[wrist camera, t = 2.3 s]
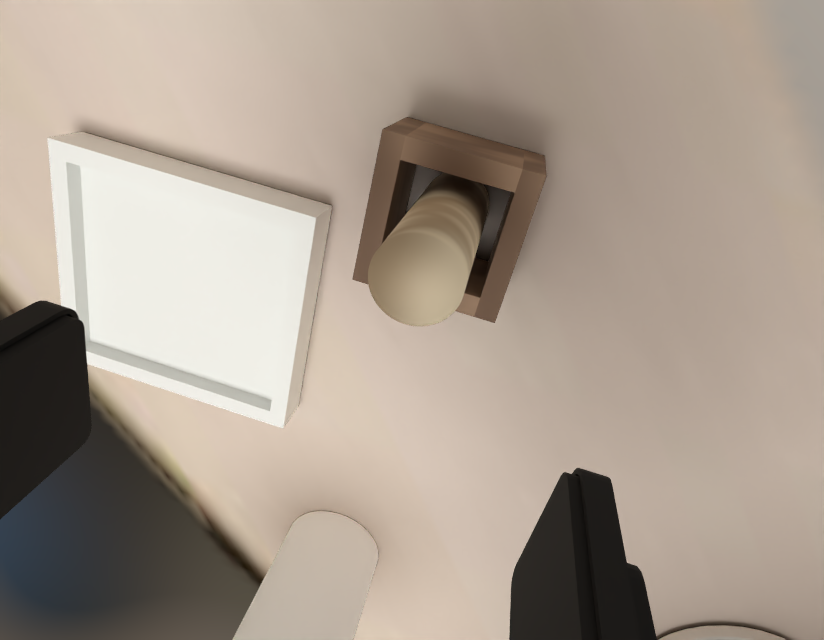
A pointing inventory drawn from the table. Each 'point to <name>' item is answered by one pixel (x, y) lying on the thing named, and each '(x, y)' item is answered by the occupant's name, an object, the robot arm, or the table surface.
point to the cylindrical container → (314, 582)
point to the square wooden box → (464, 159)
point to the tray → (187, 274)
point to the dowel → (430, 253)
